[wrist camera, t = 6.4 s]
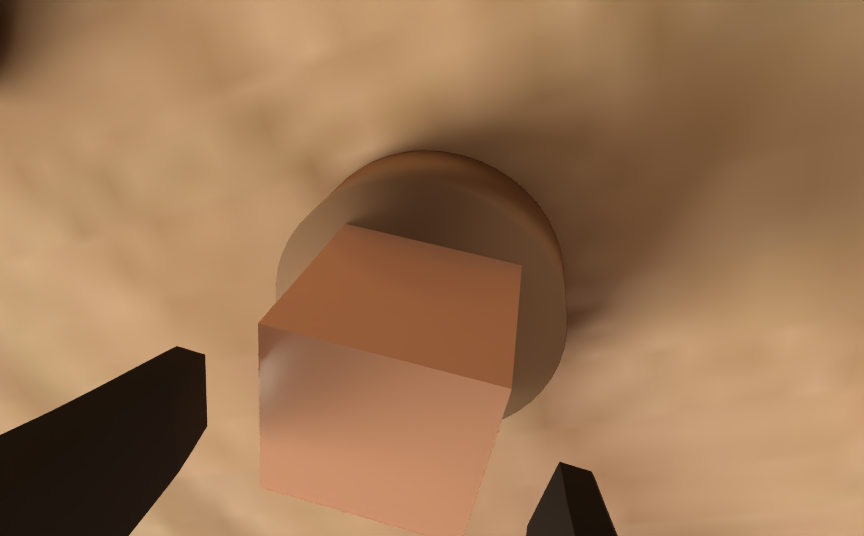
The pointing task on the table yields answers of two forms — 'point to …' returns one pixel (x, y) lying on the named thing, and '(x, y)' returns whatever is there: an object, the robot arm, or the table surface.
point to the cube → (388, 379)
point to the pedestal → (454, 240)
